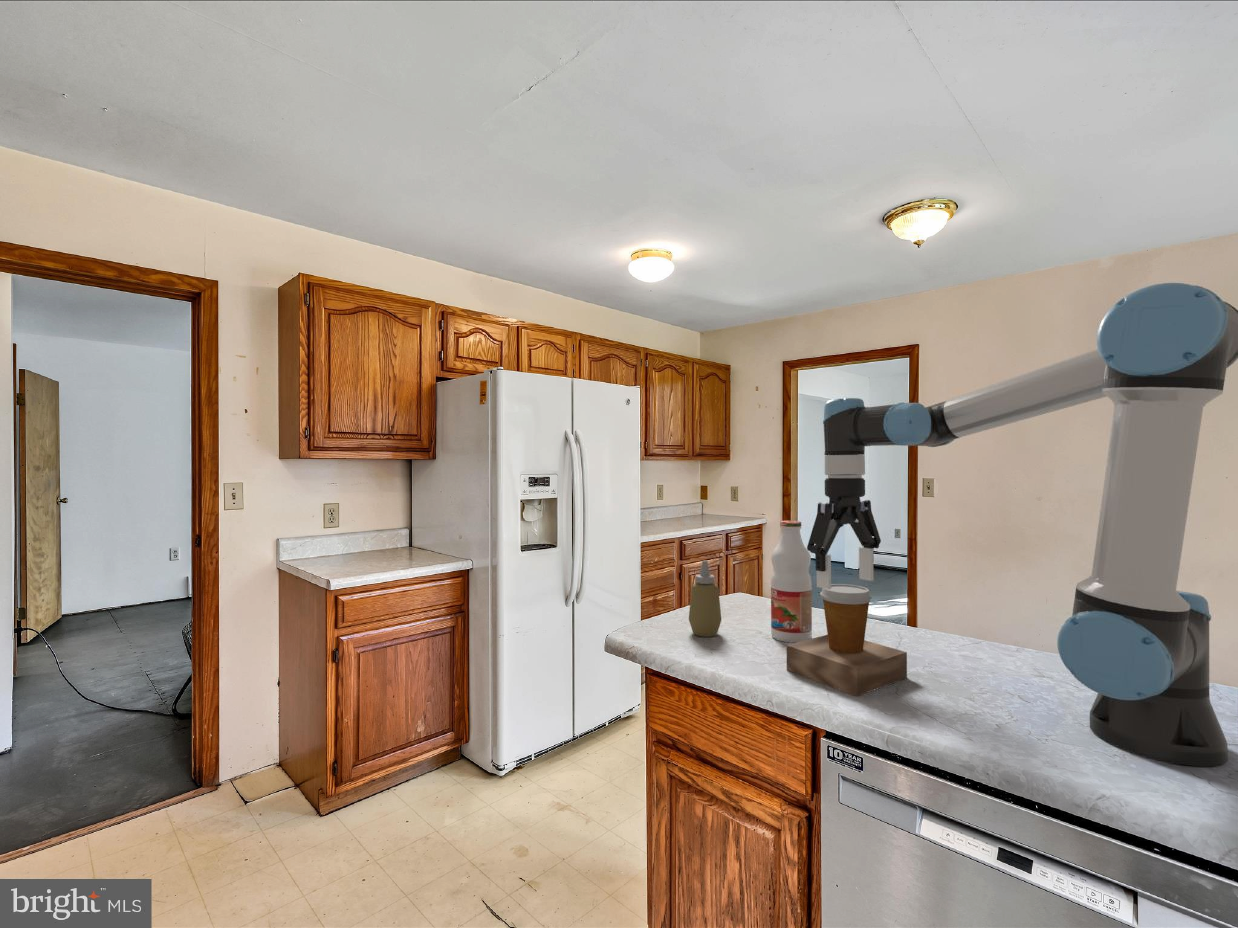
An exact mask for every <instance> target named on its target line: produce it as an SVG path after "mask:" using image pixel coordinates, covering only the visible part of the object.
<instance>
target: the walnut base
mask: <svg viewBox="0 0 1238 928" xmlns="http://www.w3.org/2000/svg"><path fill="white" fill-rule="evenodd" d="M786 671H789V672H791V673H794V674H796V675H799V676H801V677H805V678H807V679H810V680H813V681H815V682H818V683H821V684H823V685H825V686H828V687H832V688H834V689H837V690H839V691H841V692H845V693H847V694H849V695H852V696H855V697H859V696H862V695H864V694H867V693H869V692H868V691H870V692H872V690H873V691H875V690H878V689H880V687H881V688H884V687H886V686H888V685H891V684H894V683H897V682H900V681H903V680H904V679H907V678H908V651H904V650H902V649H901V650H900V649H897V648H893V647H890V646H887V645H882V644H879V643H876V642H872V641H868V640H865V639H864V646H863V651H862V652H860V653H854V654H849V653H841V652H837V651H834V650H832V649H830V648H829V641H828V634H825V635H820V636H817V637H813V638H811V639H809V640H805V641H801V642H797V643H790V644H787V645H786ZM877 688H878V689H877ZM874 689H875V690H874ZM861 694H862V695H861Z"/></svg>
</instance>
